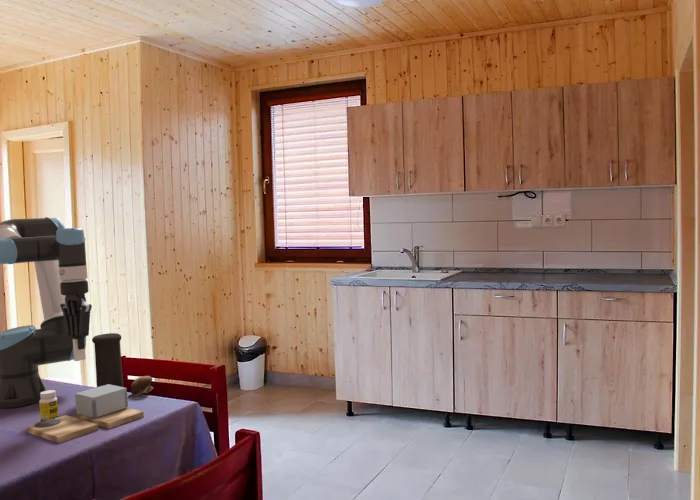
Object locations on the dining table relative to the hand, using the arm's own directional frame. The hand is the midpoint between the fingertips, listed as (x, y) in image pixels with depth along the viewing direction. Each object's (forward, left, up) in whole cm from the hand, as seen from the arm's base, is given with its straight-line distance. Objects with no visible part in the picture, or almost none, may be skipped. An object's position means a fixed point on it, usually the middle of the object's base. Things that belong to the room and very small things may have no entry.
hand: (79, 359), depth 185 cm
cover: (+10, 0, -14) cm, 17 cm away
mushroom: (0, +20, -16) cm, 26 cm away
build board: (+11, -13, -16) cm, 23 cm away
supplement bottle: (-1, -10, -16) cm, 19 cm away
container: (-8, +14, -16) cm, 22 cm away
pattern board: (+13, 0, -16) cm, 20 cm away
